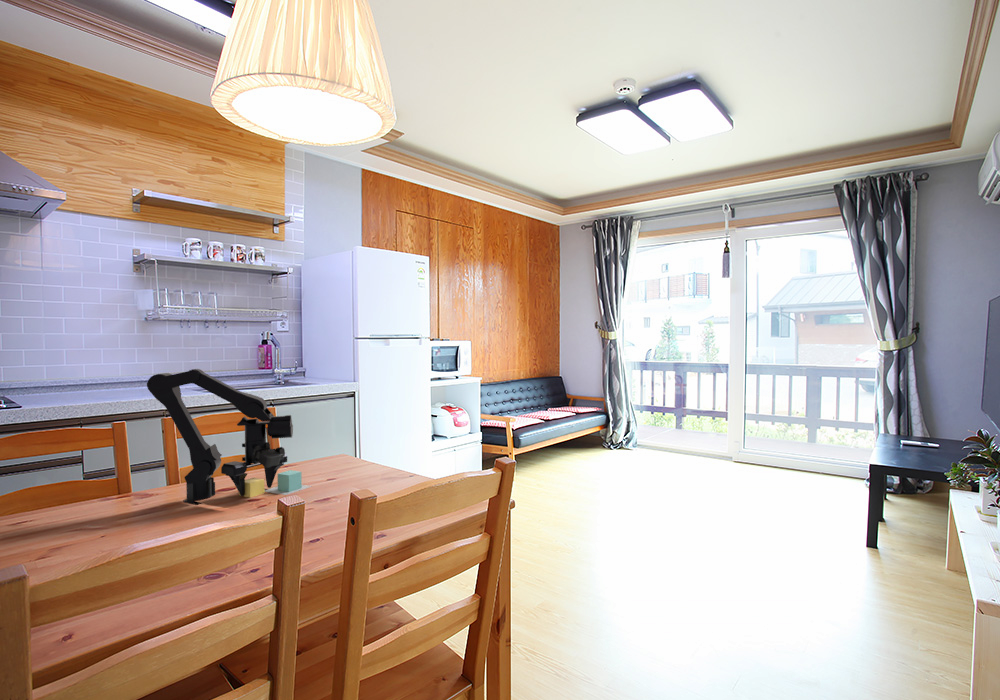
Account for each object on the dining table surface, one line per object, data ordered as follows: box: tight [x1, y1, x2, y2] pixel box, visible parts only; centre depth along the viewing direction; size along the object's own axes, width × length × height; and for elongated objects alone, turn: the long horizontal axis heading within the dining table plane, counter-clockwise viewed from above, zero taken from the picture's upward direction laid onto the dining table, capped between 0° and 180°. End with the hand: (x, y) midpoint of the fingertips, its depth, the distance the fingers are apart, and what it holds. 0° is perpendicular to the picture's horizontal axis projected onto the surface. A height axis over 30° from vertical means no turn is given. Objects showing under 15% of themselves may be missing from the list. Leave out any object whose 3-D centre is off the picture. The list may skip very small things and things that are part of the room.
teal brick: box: [277, 469, 303, 492], centre depth 155 cm, size 5×5×5 cm
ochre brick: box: [238, 477, 266, 498], centre depth 150 cm, size 5×5×5 cm
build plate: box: [265, 484, 312, 496], centre depth 156 cm, size 10×10×1 cm
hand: (256, 491), depth 152 cm, fingers open, 9 cm apart
